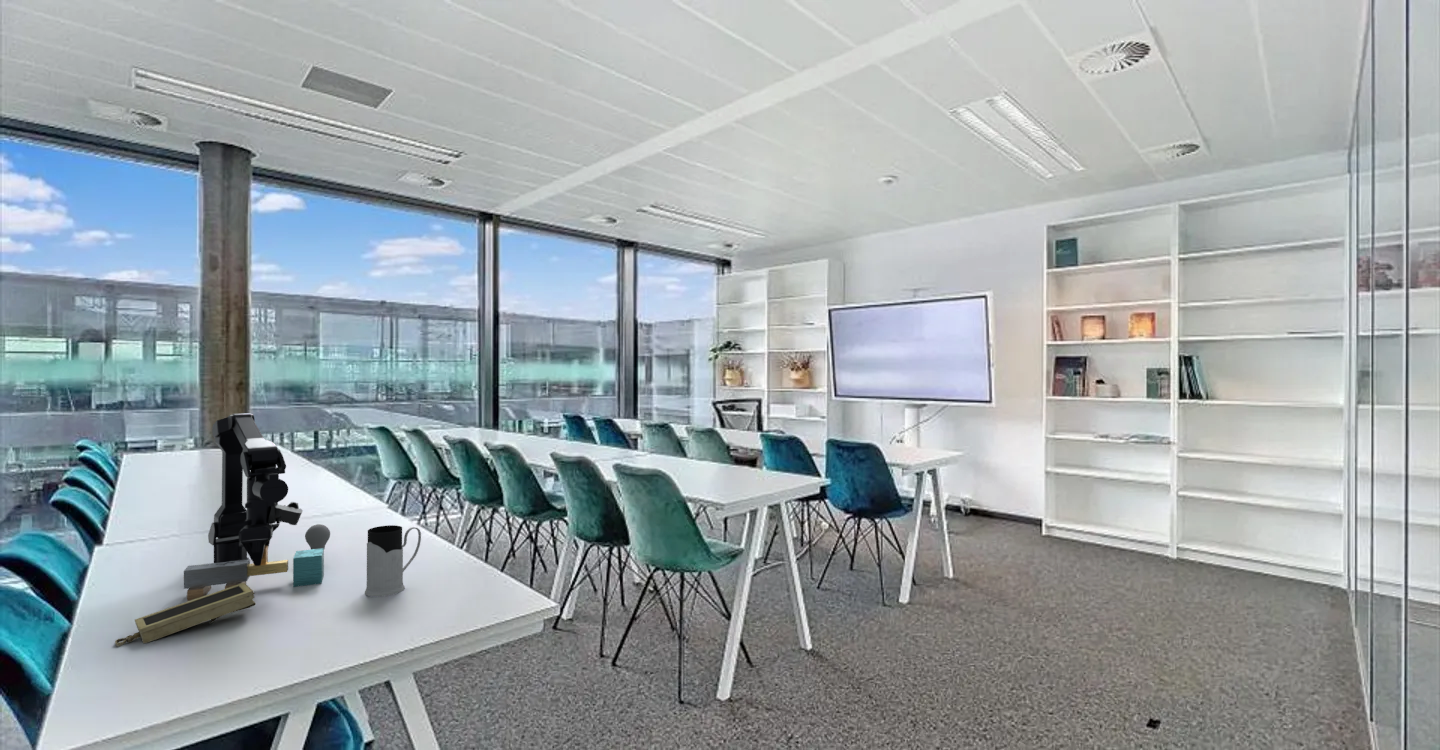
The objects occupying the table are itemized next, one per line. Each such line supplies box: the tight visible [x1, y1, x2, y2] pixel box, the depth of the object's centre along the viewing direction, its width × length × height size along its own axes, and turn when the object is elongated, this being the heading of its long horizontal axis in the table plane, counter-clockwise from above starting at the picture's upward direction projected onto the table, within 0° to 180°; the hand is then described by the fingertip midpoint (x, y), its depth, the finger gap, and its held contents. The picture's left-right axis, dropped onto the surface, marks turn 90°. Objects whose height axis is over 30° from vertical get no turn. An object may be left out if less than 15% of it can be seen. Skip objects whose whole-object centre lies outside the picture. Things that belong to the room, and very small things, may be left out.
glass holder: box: [364, 524, 422, 598], centre depth 161 cm, size 9×14×15 cm, turn 152°
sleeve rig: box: [183, 548, 325, 602], centre depth 159 cm, size 28×8×7 cm, turn 118°
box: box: [114, 583, 257, 647], centre depth 135 cm, size 8×22×5 cm, turn 139°
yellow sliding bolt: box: [247, 546, 289, 577], centre depth 158 cm, size 19×3×6 cm, turn 118°
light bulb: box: [304, 523, 331, 550], centre depth 181 cm, size 6×6×10 cm
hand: (260, 560), depth 160 cm, fingers open, 9 cm apart
